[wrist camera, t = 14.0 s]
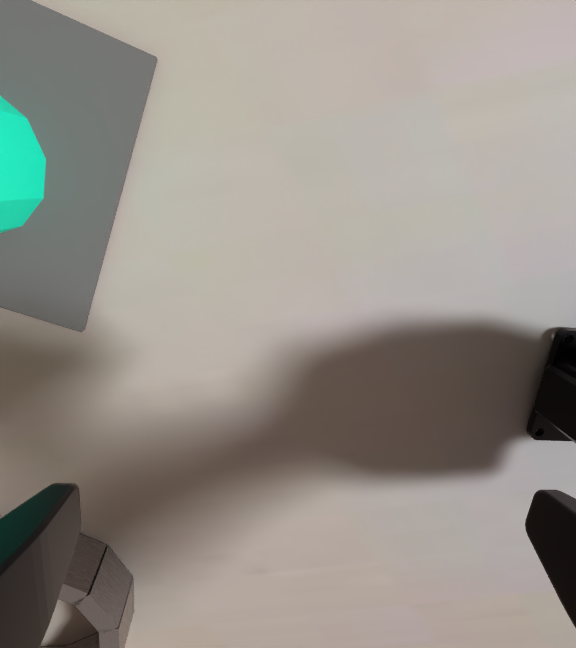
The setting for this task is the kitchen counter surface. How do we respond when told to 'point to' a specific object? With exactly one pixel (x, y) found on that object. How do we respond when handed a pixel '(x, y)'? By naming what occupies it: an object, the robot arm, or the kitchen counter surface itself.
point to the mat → (68, 154)
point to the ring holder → (99, 593)
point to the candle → (18, 168)
